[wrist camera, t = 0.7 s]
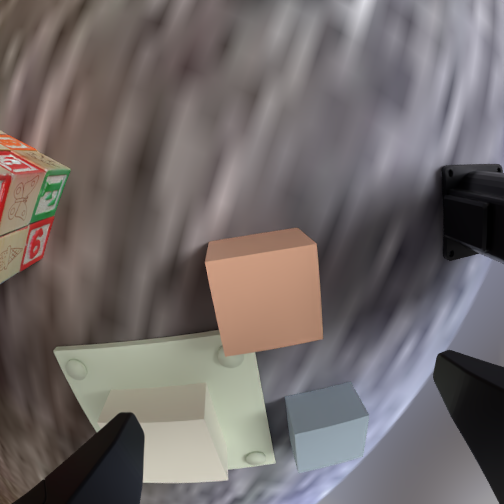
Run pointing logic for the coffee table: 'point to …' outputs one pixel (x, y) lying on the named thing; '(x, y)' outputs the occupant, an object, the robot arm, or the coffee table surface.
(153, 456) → the brick cream
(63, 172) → the stack of blocks
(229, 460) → the baseplate
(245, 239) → the brick terracotta
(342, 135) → the coffee table surface
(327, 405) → the brick blue
